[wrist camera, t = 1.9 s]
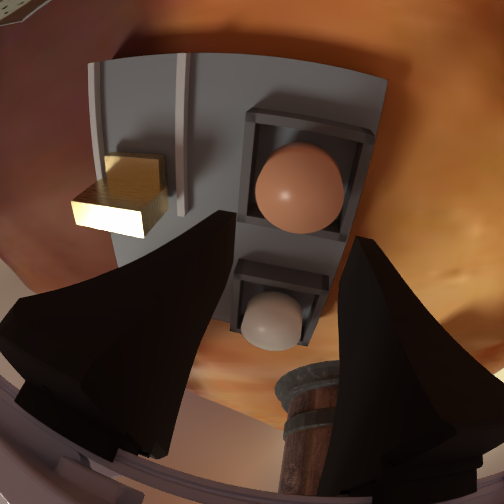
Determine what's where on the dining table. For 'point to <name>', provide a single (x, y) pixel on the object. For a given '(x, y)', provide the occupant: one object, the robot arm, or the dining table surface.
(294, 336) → the cream button
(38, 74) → the dining table surface
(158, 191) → the tall mustard sponge block
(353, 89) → the control panel
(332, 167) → the terracotta button
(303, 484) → the tankard
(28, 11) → the food container
